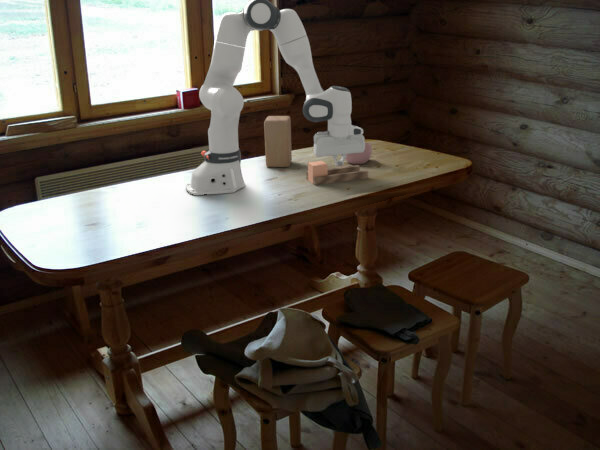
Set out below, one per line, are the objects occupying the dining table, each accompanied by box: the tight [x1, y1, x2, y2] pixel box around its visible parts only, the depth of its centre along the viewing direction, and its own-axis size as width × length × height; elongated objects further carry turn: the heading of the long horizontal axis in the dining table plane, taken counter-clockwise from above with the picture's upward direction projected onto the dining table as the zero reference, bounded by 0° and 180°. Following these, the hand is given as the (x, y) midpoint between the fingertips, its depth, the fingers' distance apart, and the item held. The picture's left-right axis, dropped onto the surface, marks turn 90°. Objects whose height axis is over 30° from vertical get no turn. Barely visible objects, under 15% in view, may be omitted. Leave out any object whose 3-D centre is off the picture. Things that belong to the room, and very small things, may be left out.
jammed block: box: [307, 160, 328, 184], centre depth 247 cm, size 6×5×7 cm
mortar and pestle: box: [345, 141, 373, 165], centre depth 270 cm, size 12×12×12 cm
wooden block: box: [263, 115, 293, 168], centre depth 271 cm, size 10×10×20 cm
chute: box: [305, 164, 369, 186], centre depth 250 cm, size 22×9×4 cm, turn 110°
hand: (339, 165), depth 249 cm, fingers closed
